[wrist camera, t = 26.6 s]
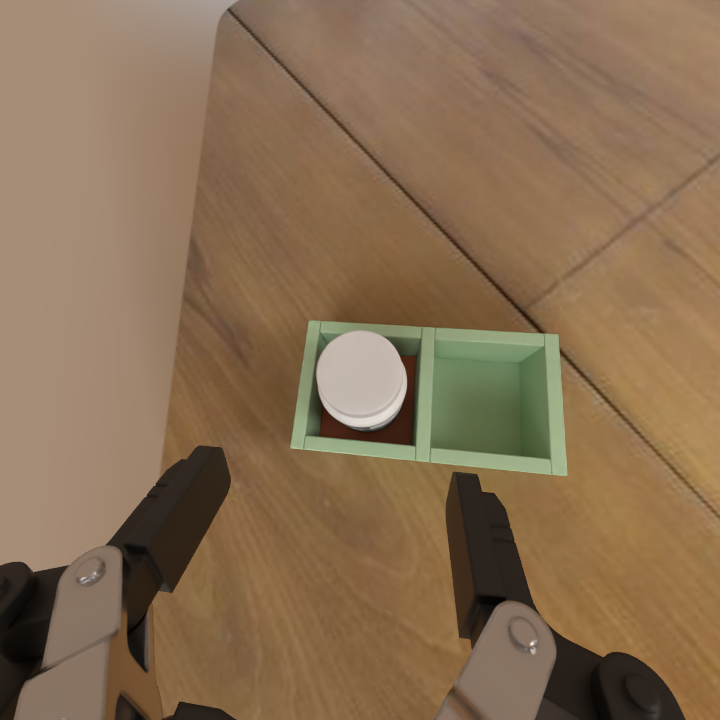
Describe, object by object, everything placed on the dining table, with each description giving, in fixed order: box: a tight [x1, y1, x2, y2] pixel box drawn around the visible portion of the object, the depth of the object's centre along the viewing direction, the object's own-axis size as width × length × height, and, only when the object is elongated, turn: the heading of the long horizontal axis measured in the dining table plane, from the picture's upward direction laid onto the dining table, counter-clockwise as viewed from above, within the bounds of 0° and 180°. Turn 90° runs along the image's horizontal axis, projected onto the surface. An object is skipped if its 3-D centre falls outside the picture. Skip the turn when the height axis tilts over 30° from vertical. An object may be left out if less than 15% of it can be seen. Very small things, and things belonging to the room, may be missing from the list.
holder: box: [290, 320, 567, 476], centre depth 21 cm, size 15×8×4 cm, turn 85°
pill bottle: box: [316, 330, 407, 433], centre depth 19 cm, size 5×5×8 cm
